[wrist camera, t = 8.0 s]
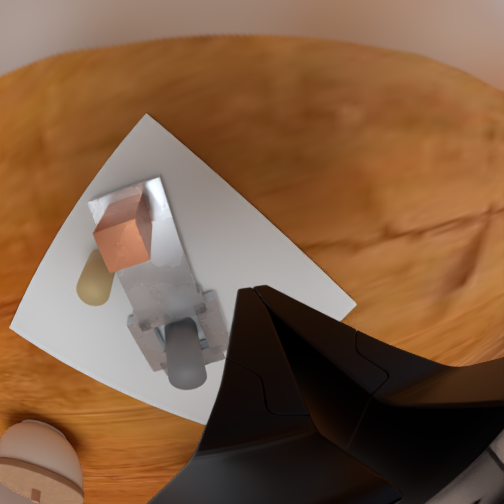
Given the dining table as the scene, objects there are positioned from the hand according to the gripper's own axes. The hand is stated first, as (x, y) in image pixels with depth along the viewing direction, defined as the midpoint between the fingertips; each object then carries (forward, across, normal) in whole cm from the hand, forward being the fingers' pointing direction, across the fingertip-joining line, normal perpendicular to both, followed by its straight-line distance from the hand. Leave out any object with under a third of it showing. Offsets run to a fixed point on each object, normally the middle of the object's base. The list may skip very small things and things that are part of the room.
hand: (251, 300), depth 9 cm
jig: (+12, +2, +9) cm, 15 cm away
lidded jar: (+12, +22, +24) cm, 35 cm away
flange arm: (+11, +3, +6) cm, 13 cm away
